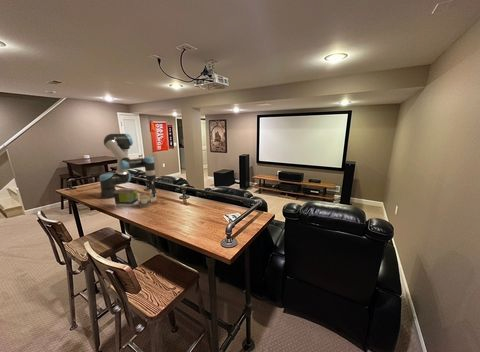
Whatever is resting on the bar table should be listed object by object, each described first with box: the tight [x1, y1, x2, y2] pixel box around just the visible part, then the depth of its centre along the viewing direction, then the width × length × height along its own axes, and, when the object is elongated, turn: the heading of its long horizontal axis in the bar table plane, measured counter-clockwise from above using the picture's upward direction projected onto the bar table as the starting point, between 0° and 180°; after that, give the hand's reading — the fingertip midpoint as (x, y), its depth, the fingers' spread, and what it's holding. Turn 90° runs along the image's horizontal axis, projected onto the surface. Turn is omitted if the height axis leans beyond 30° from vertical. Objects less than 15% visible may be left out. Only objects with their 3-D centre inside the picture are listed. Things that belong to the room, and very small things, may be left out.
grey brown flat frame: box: [138, 199, 160, 208], centre depth 169 cm, size 9×15×3 cm, turn 123°
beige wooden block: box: [149, 191, 157, 203], centre depth 170 cm, size 4×4×10 cm
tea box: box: [113, 187, 139, 208], centre depth 168 cm, size 15×10×15 cm, turn 84°
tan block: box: [139, 192, 148, 205], centre depth 166 cm, size 4×4×10 cm
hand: (153, 198), depth 170 cm, fingers open, 13 cm apart
